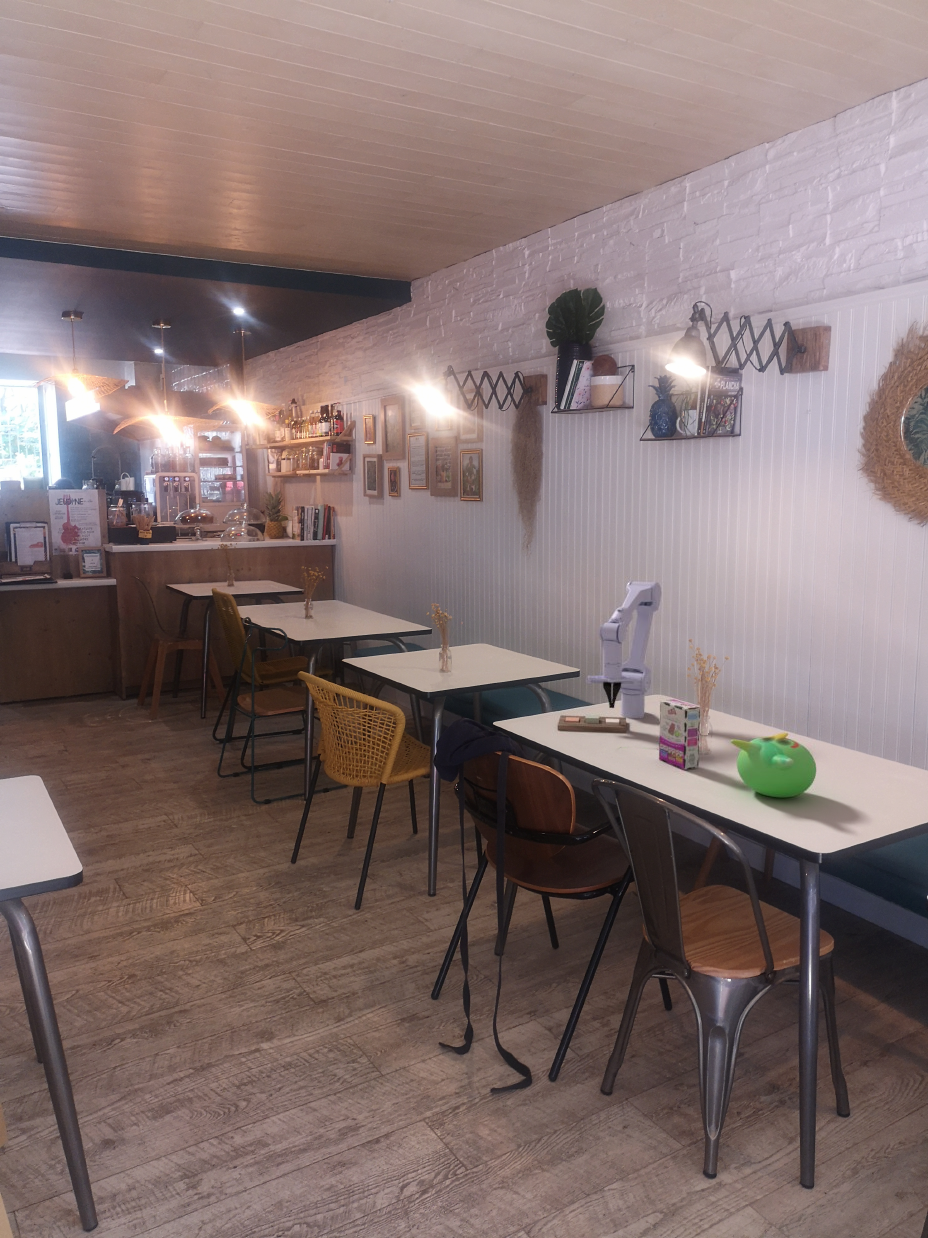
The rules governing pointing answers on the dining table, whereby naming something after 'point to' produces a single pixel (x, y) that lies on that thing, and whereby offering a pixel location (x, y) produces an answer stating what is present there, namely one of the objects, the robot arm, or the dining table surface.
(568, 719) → the terracotta button
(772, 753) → the toy bird
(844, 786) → the dining table surface
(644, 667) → the robot arm
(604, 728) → the button panel
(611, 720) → the cream button
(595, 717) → the sage button
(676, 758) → the candy bar box
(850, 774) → the dining table surface
